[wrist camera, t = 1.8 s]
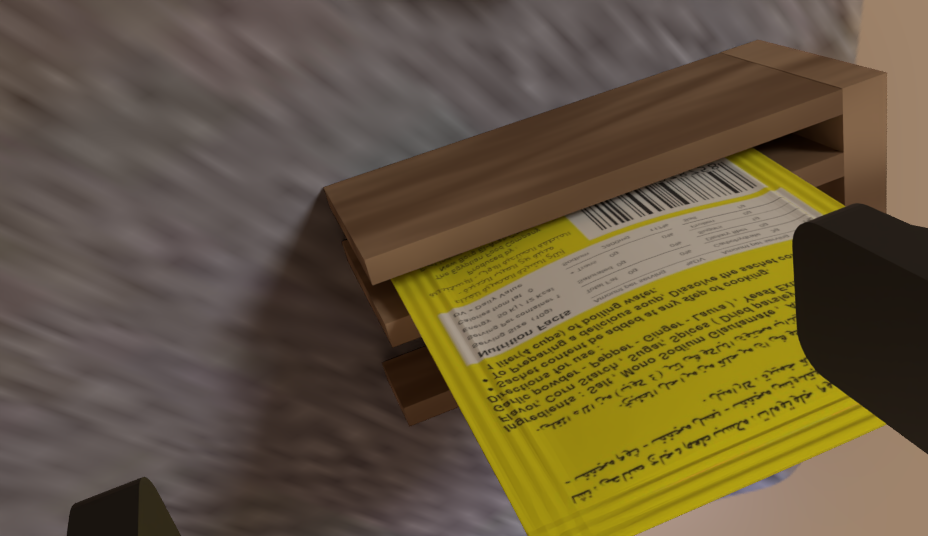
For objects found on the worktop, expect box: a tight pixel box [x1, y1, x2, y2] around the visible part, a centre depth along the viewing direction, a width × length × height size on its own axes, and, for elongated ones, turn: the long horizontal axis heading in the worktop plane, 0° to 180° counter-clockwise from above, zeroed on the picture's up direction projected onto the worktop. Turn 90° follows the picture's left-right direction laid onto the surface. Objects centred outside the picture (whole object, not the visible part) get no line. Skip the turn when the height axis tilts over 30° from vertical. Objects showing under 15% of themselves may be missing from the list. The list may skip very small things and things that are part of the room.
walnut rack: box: [323, 40, 887, 426], centre depth 36 cm, size 10×21×8 cm, turn 104°
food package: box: [391, 147, 886, 536], centre depth 30 cm, size 15×1×20 cm, turn 103°
